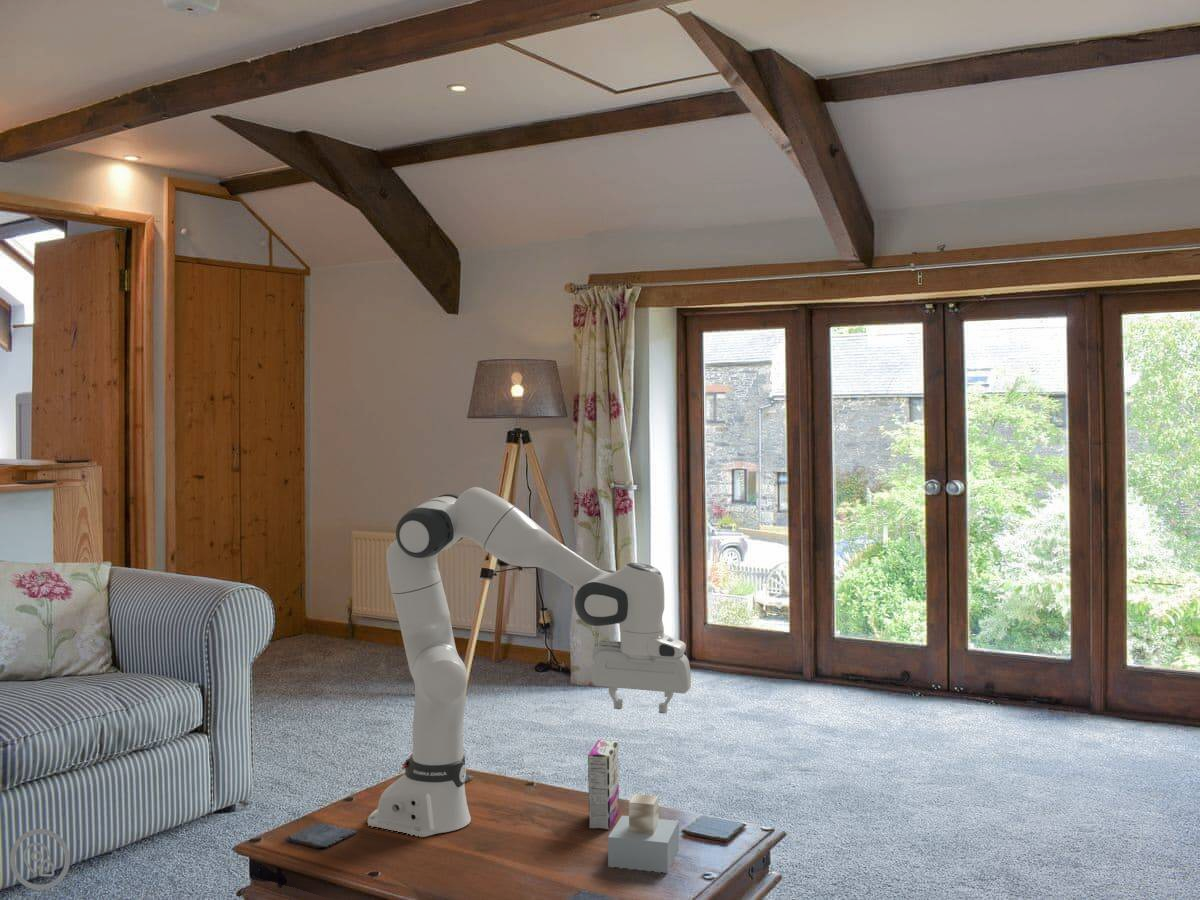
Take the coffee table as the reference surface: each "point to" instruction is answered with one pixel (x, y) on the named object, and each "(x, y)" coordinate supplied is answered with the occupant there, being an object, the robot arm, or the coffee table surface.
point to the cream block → (643, 814)
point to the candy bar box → (603, 784)
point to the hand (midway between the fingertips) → (640, 710)
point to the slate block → (643, 846)
